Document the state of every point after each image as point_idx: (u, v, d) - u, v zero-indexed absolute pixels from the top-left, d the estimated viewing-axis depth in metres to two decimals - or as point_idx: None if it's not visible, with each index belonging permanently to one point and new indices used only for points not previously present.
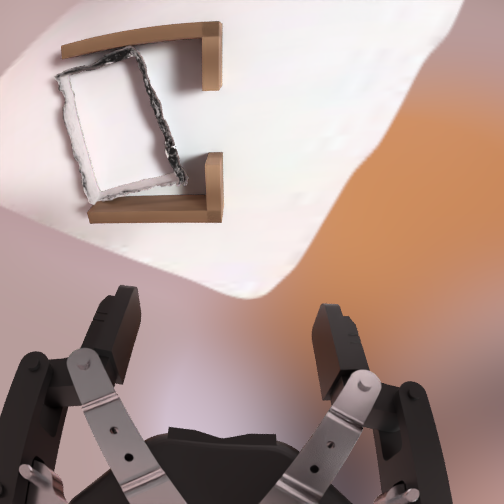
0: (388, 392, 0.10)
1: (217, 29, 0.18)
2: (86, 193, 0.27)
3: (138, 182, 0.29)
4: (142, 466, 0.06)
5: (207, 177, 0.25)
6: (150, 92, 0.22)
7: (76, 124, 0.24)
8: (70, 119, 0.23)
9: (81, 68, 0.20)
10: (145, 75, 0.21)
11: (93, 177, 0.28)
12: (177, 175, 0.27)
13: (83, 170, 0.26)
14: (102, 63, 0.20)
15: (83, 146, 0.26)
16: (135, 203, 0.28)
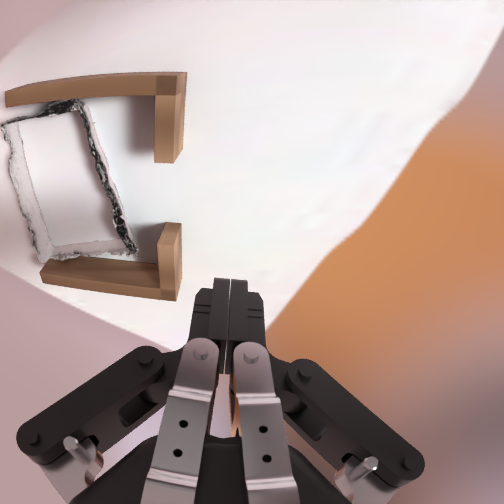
0: (281, 368, 0.11)
1: (174, 86, 0.16)
2: (36, 252, 0.23)
3: (89, 244, 0.25)
4: (182, 467, 0.06)
5: (160, 257, 0.23)
6: (95, 154, 0.19)
7: (24, 176, 0.21)
8: (18, 172, 0.20)
9: (24, 118, 0.17)
10: (89, 133, 0.18)
11: (45, 232, 0.24)
12: (126, 246, 0.23)
13: (32, 228, 0.23)
14: (45, 114, 0.17)
15: (32, 200, 0.22)
16: (88, 267, 0.25)
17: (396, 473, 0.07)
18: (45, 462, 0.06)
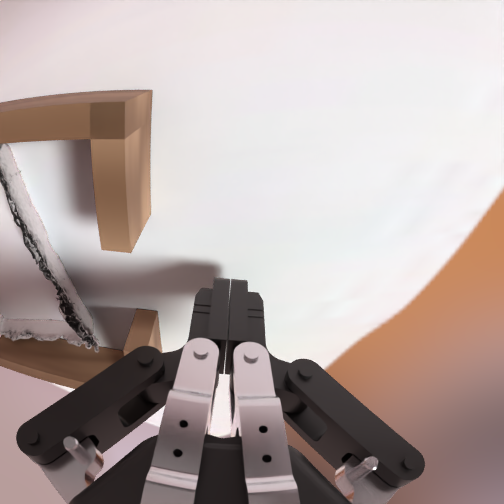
0: (281, 368, 0.11)
1: (121, 122, 0.08)
2: None
3: (42, 323, 0.18)
4: (182, 466, 0.07)
5: None
6: (20, 223, 0.12)
7: None
8: None
9: None
10: (8, 194, 0.11)
11: None
12: (83, 339, 0.16)
13: None
14: None
15: None
16: (46, 352, 0.17)
17: (396, 473, 0.07)
18: (45, 462, 0.06)
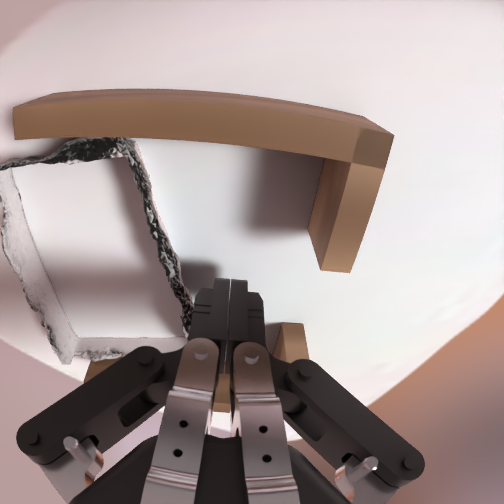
0: (281, 368, 0.11)
1: (386, 153, 0.09)
2: (57, 352, 0.16)
3: (134, 340, 0.18)
4: (182, 467, 0.06)
5: None
6: (158, 236, 0.12)
7: (27, 249, 0.14)
8: (17, 245, 0.13)
9: (22, 164, 0.10)
10: (149, 202, 0.11)
11: (65, 322, 0.17)
12: None
13: (48, 322, 0.15)
14: (60, 160, 0.10)
15: (43, 281, 0.15)
16: None
17: (396, 473, 0.07)
18: (45, 462, 0.06)
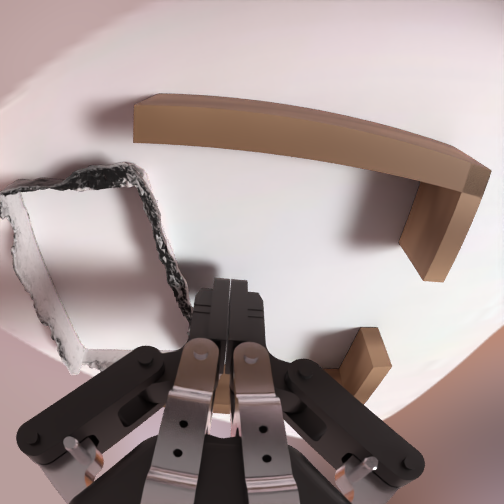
0: (281, 368, 0.11)
1: (485, 185, 0.10)
2: (66, 363, 0.17)
3: None
4: (182, 467, 0.06)
5: (368, 378, 0.16)
6: (167, 260, 0.13)
7: (37, 267, 0.14)
8: (27, 263, 0.14)
9: (32, 189, 0.11)
10: (158, 229, 0.12)
11: (73, 334, 0.18)
12: None
13: (57, 335, 0.16)
14: (70, 187, 0.11)
15: (52, 297, 0.16)
16: None
17: (396, 473, 0.07)
18: (45, 462, 0.06)
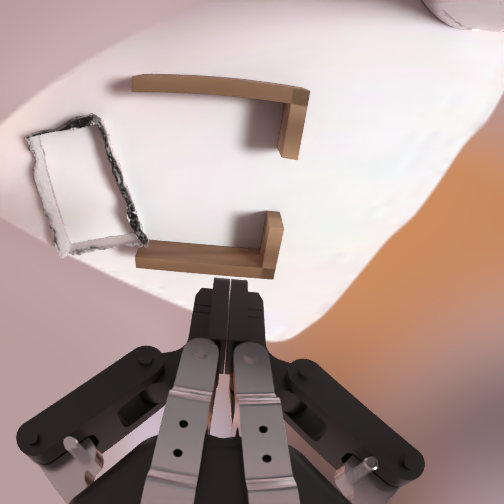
0: (281, 368, 0.11)
1: (307, 99, 0.21)
2: (57, 248, 0.28)
3: (104, 239, 0.30)
4: (182, 467, 0.06)
5: (269, 238, 0.27)
6: (111, 160, 0.24)
7: (46, 182, 0.25)
8: (41, 178, 0.25)
9: (48, 131, 0.22)
10: (107, 143, 0.23)
11: (64, 231, 0.29)
12: (138, 238, 0.28)
13: (53, 227, 0.27)
14: (67, 128, 0.22)
15: (53, 202, 0.27)
16: (186, 251, 0.30)
17: (396, 473, 0.07)
18: (45, 462, 0.06)
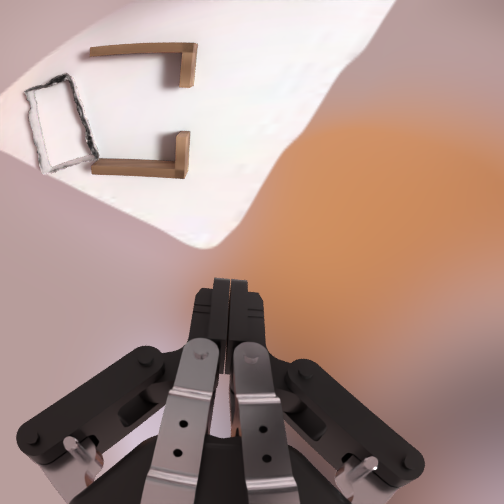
0: (281, 368, 0.11)
1: (192, 48, 0.30)
2: (40, 167, 0.37)
3: (73, 160, 0.39)
4: (182, 466, 0.07)
5: (177, 145, 0.36)
6: (76, 101, 0.33)
7: (36, 122, 0.35)
8: (33, 118, 0.34)
9: (39, 86, 0.31)
10: (74, 91, 0.32)
11: (46, 157, 0.38)
12: (92, 153, 0.37)
13: (39, 152, 0.36)
14: (51, 83, 0.31)
15: (40, 136, 0.36)
16: (126, 162, 0.39)
17: (396, 473, 0.07)
18: (45, 462, 0.06)
